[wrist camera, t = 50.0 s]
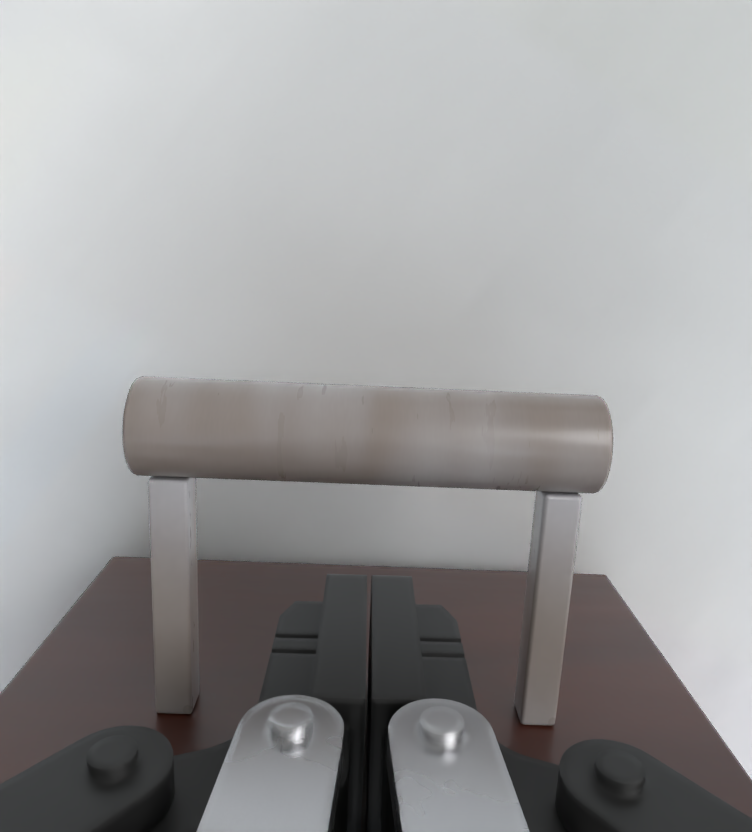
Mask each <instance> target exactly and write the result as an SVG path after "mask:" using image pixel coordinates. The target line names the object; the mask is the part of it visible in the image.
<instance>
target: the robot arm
mask: <svg viewBox="0 0 752 832" xmlns="http://www.w3.org/2000/svg"><path fill="white" fill-rule="evenodd" d="M366 627H367V575H353V574H327V576H326V583H325V591H324V598H323V602H320V601H295V602H294V603H293V604H292V605H291V606H290V607H289V608H287V609H286V610H285V611H284V612H283V613H282V614H281V615H280V617H279V621H278V625H277V629H276V633H275V638H274V641H273V645H272V652H271V654H270V658H269V662H268V666H267V670H266V674H265V678H264V682H263V686H262V690H261V694H260V698H259V702H258V704H257V705H255V706H253V707H252V708H251V709H249V710H248V711H247V712H246V713H245V714H244V716H243V717H242V718H241V720H240V722H239V724H238V726H237V729H236V731H235V734H234V736H233V738H231V739H229V740H227V741H225V742H223V743H221V744H219V745H216V746H213V747H210V748H206V749H202V750H198V751H193V752H188V753H184V754H179V755H174V756H173V749H172V746H171V743H170V742H169V740H168V739H167V738H166V737H165V736H164V735H163V734H161V733H160V732H158V731H156V730H154V729H151V728H148V727H142V726H132V725H128V726H117V727H111V728H107V729H103V730H100V731H97V732H95V733H92V734H90V735H88V736H86V737H84V738H82V739H80V740H78V741H76V742H74V743H73V744H71V745H69V746H67V747H65V748H64V749H62V750H60V751H58V752H57V753H55V754H53V755H51V756H49V757H48V758H46V759H44V760H42V761H41V762H39V763H37V764H35V765H33V766H32V767H30V768H28V769H26V770H24V771H23V772H21V773H19V774H17V775H16V776H14V777H12V778H10V779H8V780H7V781H5V782H3V783H1V784H0V832H361V813H362V785H363V757H364V729H365V702H366ZM366 832H752V818H750V817H749V816H747V815H746V814H744V813H742V812H741V811H739V810H738V809H736V808H734V807H733V806H731V805H730V804H728V803H726V802H725V801H723V800H722V799H720V798H718V797H717V796H715V795H714V794H712V793H710V792H709V791H707V790H706V789H704V788H702V787H701V786H699V785H698V784H696V783H694V782H693V781H691V780H690V779H688V778H686V777H685V776H683V775H682V774H680V773H678V772H677V771H675V770H674V769H672V768H670V767H669V766H667V765H666V764H664V763H662V762H661V761H659V760H658V759H656V758H655V757H653V756H651V755H650V754H648V753H646V752H644V751H643V750H641V749H638V748H636V747H634V746H631V745H628V744H625V743H622V742H618V741H613V740H606V739H591V740H584V741H581V742H578V743H576V744H574V745H572V746H570V747H569V748H568V749H567V750H566V751H565V752H564V753H563V755H562V757H561V760H560V764H559V765H558V764H554V763H550V762H546V761H542V760H539V759H535V758H531V757H528V756H525V755H522V754H519V753H517V752H515V751H512V750H511V749H509V748H507V747H505V746H503V745H502V744H501V743H499V742H498V741H497V739H496V736H495V734H494V731H493V729H492V727H491V725H490V723H489V722H488V721H487V719H486V718H485V717H484V716H483V715H481V714H480V713H479V712H478V711H477V707H476V703H475V698H474V694H473V689H472V685H471V681H470V676H469V672H468V667H467V663H466V658H465V657H464V650H463V645H462V643H461V636H460V632H459V628H458V623H457V620H456V619H455V618H454V617H453V616H452V615H451V614H450V613H449V612H448V611H447V610H446V609H445V608H444V607H443V606H442V605H431V604H415V596H414V588H413V580H412V576H392V575H372V576H371V599H370V626H369V654H368V697H367V817H366Z"/></svg>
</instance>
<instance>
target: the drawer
mask: <svg viewBox="0 0 752 832" xmlns="http://www.w3.org/2000/svg"><path fill="white" fill-rule="evenodd" d="M122 438H123V449H124V455H125V459H126V463H127V465H128V468H129V469H130V471H131V472H132V473H133V474H136V475H140V476H152V477H151V478H150V479H149V481H148V494H149V524H150V553H151V558H139V557H112V559H111V560H110V561H109V562H108V563H107V565H106V566H105V567H104V568H103V570H102V571H101V572H100V573H99V574H98V576H97V577H96V578H95V579H94V581H93V582H92V583H91V584H90V585H89V587H88V588H87V589H86V590H85V591H84V593H83V594H82V595H81V596H80V598H79V599H78V600H77V601H76V602H75V604H74V605H73V606H72V607H71V609H70V610H69V611H68V612H67V613H66V615H65V616H64V617H63V618H62V619H61V621H60V622H59V623H58V624H57V626H56V627H55V628H54V629H53V630H52V632H51V633H50V634H49V635H48V637H47V638H46V639H45V640H44V641H43V643H42V644H41V645H40V646H39V647H38V649H37V650H36V651H35V652H34V654H33V655H32V656H31V657H30V658H29V660H28V661H27V662H26V663H25V665H24V666H23V667H22V668H21V669H20V671H19V672H18V673H17V674H16V675H15V677H14V678H13V679H12V680H11V682H10V683H9V684H8V685H7V686H6V688H5V689H4V690H3V691H2V693H1V694H0V784H1V783H3V782H5V781H7V780H8V779H10V778H12V777H14V776H16V775H17V774H19V773H21V772H23V771H24V770H26V769H28V768H30V767H32V766H33V765H35V764H37V763H39V762H41V761H42V760H44V759H46V758H48V757H49V756H51V755H53V754H55V753H57V752H58V751H60V750H62V749H64V748H65V747H67V746H69V745H71V744H73V743H74V742H76V741H78V740H80V739H82V738H84V737H86V736H88V735H90V734H92V733H95V732H97V731H100V730H103V729H107V728H111V727H117V726H128V725H132V726H142V727H148V728H151V729H154V730H156V731H158V732H160V733H161V734H163V735H164V736H165V737H166V738H167V739H168V740H169V742H170V743H171V746H172V749H173V756H174V755H179V754H184V753H188V752H193V751H198V750H202V749H206V748H210V747H213V746H216V745H219V744H221V743H223V742H225V741H227V740H229V739H231V738H233V736H234V734H235V731H236V729H237V726H238V724H239V722H240V720H241V718H242V717H243V716H244V714H245V713H246V712H247V711H248V710H249V709H251V708H252V707H253V706H255V705H257V704H258V702H259V698H260V694H261V690H262V686H263V682H264V678H265V674H266V670H267V666H268V662H269V658H270V654H271V652H272V645H273V641H274V638H275V633H276V629H277V625H278V621H279V617H280V615H281V614H282V613H283V612H284V611H285V610H286V609H287V608H289V607H290V606H291V605H292V604H293V603H294V602H295V601H320V602H323V598H324V591H325V583H326V576H327V574H353V575H367V627H366V702H365V729H364V757H363V785H362V813H361V832H366V817H367V697H368V654H369V626H370V599H371V576H372V575H392V576H412V580H413V588H414V596H415V604H431V605H442V606H443V607H444V608H445V609H446V610H447V611H448V612H449V613H450V614H451V615H452V616H453V617H454V618H455V619H456V620H457V623H458V628H459V632H460V636H461V643H462V645H463V650H464V657H465V658H466V663H467V667H468V672H469V676H470V681H471V685H472V689H473V694H474V698H475V703H476V707H477V711H478V712H479V713H480V714H481V715H483V716H484V717H485V718H486V719H487V721H488V722H489V723H490V725H491V727H492V729H493V731H494V734H495V736H496V739H497V741H498V742H499V743H501V744H502V745H503V746H505V747H507V748H509V749H511V750H512V751H515V752H517V753H519V754H522V755H525V756H528V757H531V758H535V759H539V760H542V761H546V762H550V763H554V764H558V765H559V764H560V760H561V757H562V755H563V753H564V752H565V751H566V750H567V749H568V748H569V747H570V746H572V745H574V744H576V743H578V742H581V741H584V740H591V739H606V740H613V741H618V742H622V743H625V744H628V745H631V746H634V747H636V748H638V749H641V750H643V751H644V752H646V753H648V754H650V755H651V756H653V757H655V758H656V759H658V760H659V761H661V762H662V763H664V764H666V765H667V766H669V767H670V768H672V769H674V770H675V771H677V772H678V773H680V774H682V775H683V776H685V777H686V778H688V779H690V780H691V781H693V782H694V783H696V784H698V785H699V786H701V787H702V788H704V789H706V790H707V791H709V792H710V793H712V794H714V795H715V796H717V797H718V798H720V799H722V800H723V801H725V802H726V803H728V804H730V805H731V806H733V807H734V808H736V809H738V810H739V811H741V812H742V813H744V814H746V815H747V816H749V817H750V818H752V780H751V779H750V777H749V776H748V774H747V773H746V772H745V770H744V769H743V767H742V766H741V764H740V763H739V762H738V760H737V759H736V757H735V756H734V755H733V753H732V752H731V750H730V749H729V748H728V746H727V745H726V743H725V742H724V741H723V739H722V738H721V736H720V735H719V734H718V732H717V731H716V729H715V728H714V727H713V725H712V724H711V722H710V721H709V720H708V718H707V717H706V715H705V714H704V712H703V711H702V710H701V708H700V707H699V705H698V704H697V703H696V701H695V700H694V698H693V697H692V696H691V694H690V693H689V691H688V690H687V689H686V687H685V686H684V684H683V683H682V682H681V680H680V679H679V677H678V676H677V675H676V673H675V672H674V670H673V669H672V668H671V666H670V665H669V663H668V662H667V660H666V659H665V658H664V656H663V655H662V653H661V652H660V651H659V649H658V648H657V646H656V645H655V644H654V642H653V641H652V639H651V638H650V637H649V635H648V634H647V632H646V631H645V630H644V628H643V627H642V625H641V624H640V623H639V621H638V620H637V618H636V617H635V616H634V614H633V613H632V611H631V610H630V608H629V607H628V606H627V604H626V603H625V601H624V600H623V599H622V597H621V596H620V594H619V593H618V592H617V590H616V589H615V587H614V586H613V585H612V583H611V582H610V580H609V579H608V578H607V576H605V575H597V574H573V571H574V563H575V555H576V547H577V538H578V530H579V522H580V514H581V505H582V498H581V496H580V494H579V493H596V492H599V491H600V490H601V489H602V488H603V486H604V485H605V482H606V480H607V477H608V474H609V471H610V466H611V461H612V453H613V429H612V421H611V416H610V412H609V409H608V406H607V404H606V402H605V401H604V399H602V398H601V397H599V396H597V395H574V394H550V393H526V392H502V391H478V390H454V389H430V388H407V387H383V386H359V385H335V384H311V383H287V382H263V381H240V380H216V379H192V378H168V377H144V376H142V377H139V378H137V379H136V380H135V381H134V382H133V384H132V385H131V388H130V390H129V393H128V396H127V399H126V403H125V408H124V415H123V427H122ZM196 478H216V479H241V480H267V481H292V482H318V483H343V484H369V485H394V486H419V487H445V488H470V489H496V490H521V491H536V497H535V506H534V516H533V526H532V535H531V545H530V555H529V564H528V572H516V571H489V570H462V569H435V568H408V567H381V566H355V565H328V564H301V563H274V562H247V561H220V560H197V513H196Z"/></svg>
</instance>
